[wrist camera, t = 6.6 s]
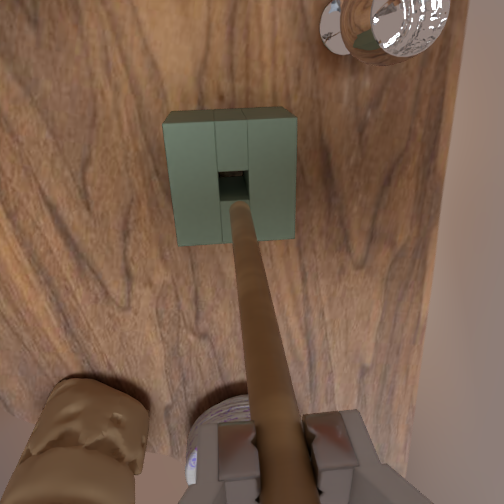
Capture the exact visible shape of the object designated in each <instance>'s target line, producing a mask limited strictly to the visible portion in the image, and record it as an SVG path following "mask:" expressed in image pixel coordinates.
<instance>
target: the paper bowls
mask: <svg viewBox="0 0 504 504" xmlns="http://www.w3.org/2000/svg"><path fill="white" fill-rule="evenodd" d="M248 420H251V416H250V407H249V397H248V395H239V396H235V397H231V398H229V399H226V400H224V401H223V402H221V403H219V404H217V405H215V406H213V407H211V408H209V409H208V410H207V411H205V412H204V413H203V414H202V415H201V416H200V417H199V418H198V419H197V420H196V421H195V423H194V424H193V426H192V427H191V429H190V431H189V435H188V440H187V451H186V466H185V476H186V480H187V483H188V486H189V485H190V484H196V466H197V441H198V428H199V424H208V423H220V422H234V421H248ZM301 423H302V421H301ZM302 427H303V426H302Z"/></svg>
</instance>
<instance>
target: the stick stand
mask: <svg viewBox="0 0 504 504" xmlns="http://www.w3.org/2000/svg"><path fill="white" fill-rule="evenodd" d="M162 128H163V136H164V143H165V151H166V159H167V166H168V174H169V182H170V189H171V197H172V205H173V212H174V220H175V228H176V235H177V243H178V246H194V245H208V244H222V243H223V244H225V243H232V233H231V224H230V214H229V209H230V206H231V205H232V204H233V203H234V202H237V201H243V202H245V203H247V204H248V205H249V207H250V211H251V215H252V219H253V223H254V227H255V232H256V236H257V240H258V241H269V240H284V239H295V208H296V163H297V117H296V116H294V115H293V114H292V113H290V112H289V111H288V110H286V109H285V108H283V107H282V106H281V107H258V108H241V109H240V108H235V109H214V110H190V111H171V112H170V114H169V115H168V116H167V118H166V119H165V121H164V122H163V123H162ZM226 171H243V176H235V177H218V172H226Z"/></svg>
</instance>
